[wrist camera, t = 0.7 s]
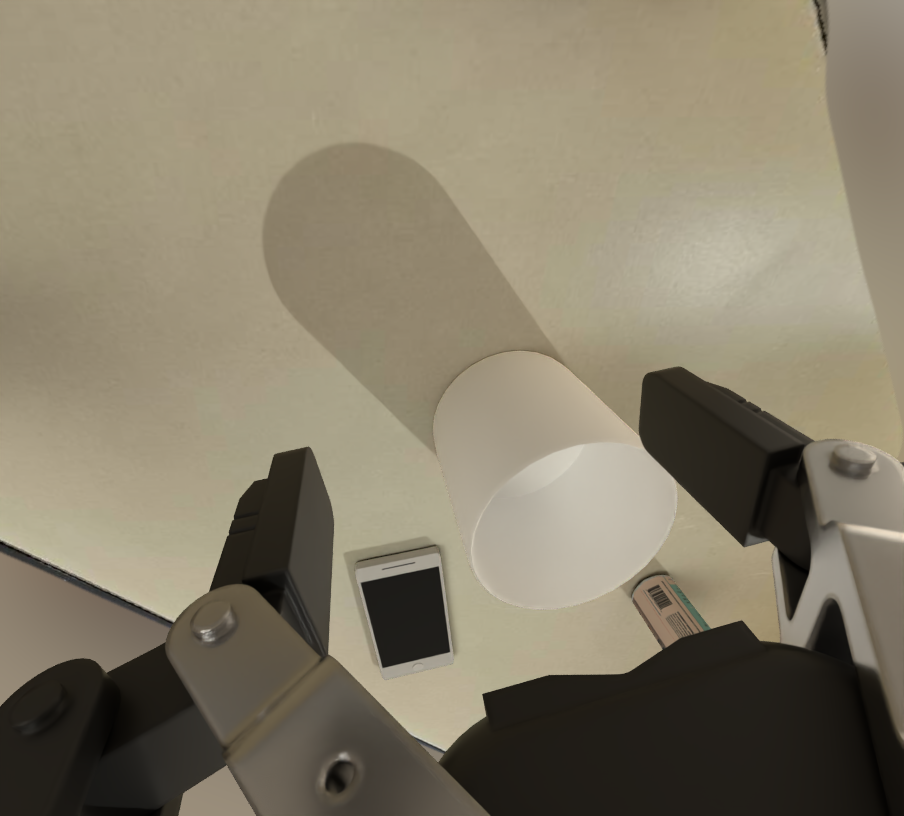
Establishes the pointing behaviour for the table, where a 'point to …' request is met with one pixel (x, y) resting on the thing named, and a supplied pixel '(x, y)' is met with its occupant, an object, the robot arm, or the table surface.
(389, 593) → the smartphone
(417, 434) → the table surface
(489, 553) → the cup
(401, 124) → the table surface
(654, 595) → the beer can
